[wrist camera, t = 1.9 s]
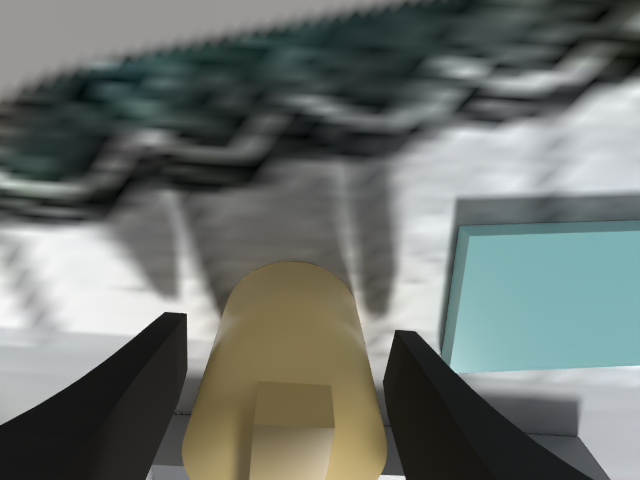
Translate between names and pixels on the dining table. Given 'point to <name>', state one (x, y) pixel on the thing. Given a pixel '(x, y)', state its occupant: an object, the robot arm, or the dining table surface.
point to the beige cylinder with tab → (287, 385)
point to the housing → (570, 449)
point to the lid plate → (544, 297)
